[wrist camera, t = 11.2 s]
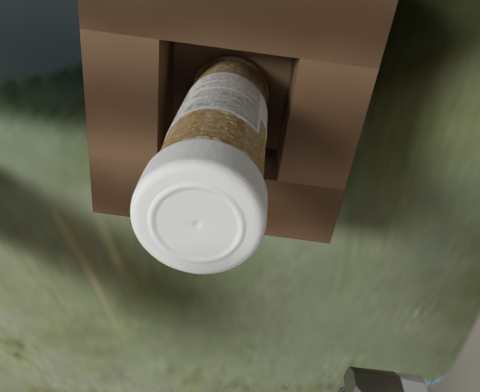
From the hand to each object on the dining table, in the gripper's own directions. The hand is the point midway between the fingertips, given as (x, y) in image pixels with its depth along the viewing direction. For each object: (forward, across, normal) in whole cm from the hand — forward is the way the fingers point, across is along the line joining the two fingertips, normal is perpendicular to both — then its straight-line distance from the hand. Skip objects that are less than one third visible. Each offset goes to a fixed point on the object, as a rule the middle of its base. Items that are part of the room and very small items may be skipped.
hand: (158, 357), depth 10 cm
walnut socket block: (+20, 0, 0) cm, 20 cm away
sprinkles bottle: (+19, 0, +1) cm, 19 cm away
